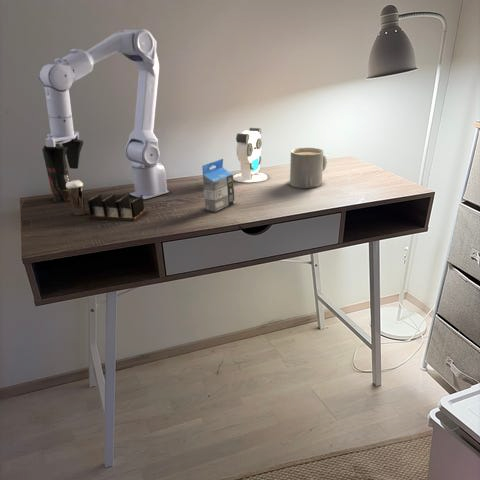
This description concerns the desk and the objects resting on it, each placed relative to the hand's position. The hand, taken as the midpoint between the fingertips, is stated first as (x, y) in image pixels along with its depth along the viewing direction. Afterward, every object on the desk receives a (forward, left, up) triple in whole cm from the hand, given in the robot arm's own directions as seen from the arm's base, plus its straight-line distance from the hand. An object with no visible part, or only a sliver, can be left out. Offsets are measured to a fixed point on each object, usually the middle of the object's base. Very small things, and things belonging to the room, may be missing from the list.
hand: (67, 171), depth 137 cm
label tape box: (-30, +27, -12) cm, 42 cm away
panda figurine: (-57, +13, -12) cm, 60 cm away
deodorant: (-5, -16, -12) cm, 21 cm away
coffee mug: (-65, +32, -12) cm, 73 cm away
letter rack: (-7, +10, -12) cm, 17 cm away
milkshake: (-1, 0, -12) cm, 12 cm away
